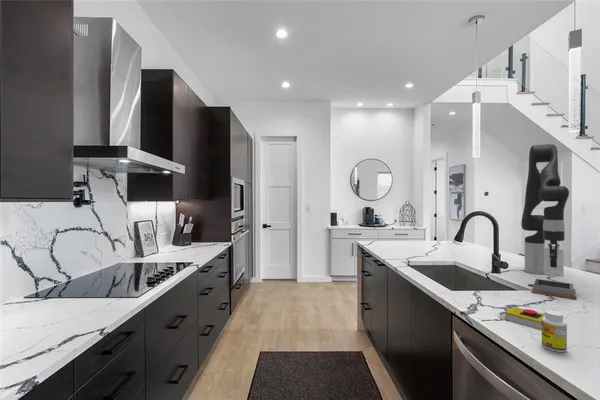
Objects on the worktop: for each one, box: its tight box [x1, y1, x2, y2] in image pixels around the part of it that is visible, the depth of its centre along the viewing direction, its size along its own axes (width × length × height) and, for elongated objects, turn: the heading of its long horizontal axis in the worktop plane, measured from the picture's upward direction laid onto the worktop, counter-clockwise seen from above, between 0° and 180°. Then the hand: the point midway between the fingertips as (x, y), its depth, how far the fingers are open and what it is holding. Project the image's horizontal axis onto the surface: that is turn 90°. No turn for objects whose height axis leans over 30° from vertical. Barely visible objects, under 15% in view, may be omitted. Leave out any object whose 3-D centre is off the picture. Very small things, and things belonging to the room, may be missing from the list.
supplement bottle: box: [541, 309, 568, 353], centre depth 87 cm, size 6×6×10 cm
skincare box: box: [543, 247, 565, 278], centre depth 138 cm, size 6×4×12 cm
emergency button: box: [498, 306, 545, 331], centre depth 106 cm, size 9×4×15 cm
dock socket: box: [531, 278, 577, 301], centre depth 138 cm, size 15×15×4 cm
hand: (553, 265), depth 138 cm, fingers closed on skincare box, 7 cm apart
